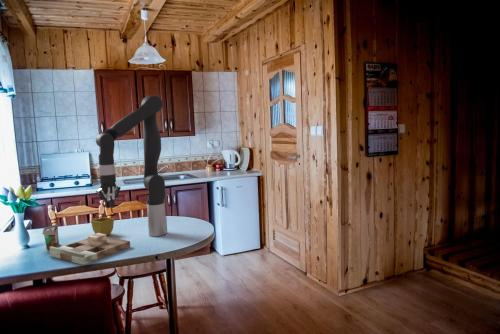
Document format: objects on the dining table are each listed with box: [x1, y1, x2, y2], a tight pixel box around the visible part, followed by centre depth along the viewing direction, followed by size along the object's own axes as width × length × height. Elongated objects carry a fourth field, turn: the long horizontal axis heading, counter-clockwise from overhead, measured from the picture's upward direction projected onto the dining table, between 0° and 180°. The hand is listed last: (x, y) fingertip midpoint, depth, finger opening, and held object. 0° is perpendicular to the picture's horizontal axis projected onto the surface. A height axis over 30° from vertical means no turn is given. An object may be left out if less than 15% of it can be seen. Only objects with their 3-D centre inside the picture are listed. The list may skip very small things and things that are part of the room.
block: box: [87, 233, 107, 246], centre depth 180 cm, size 6×6×4 cm
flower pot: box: [90, 216, 115, 237], centre depth 204 cm, size 9×9×9 cm
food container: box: [41, 224, 60, 251], centre depth 185 cm, size 12×6×10 cm, turn 21°
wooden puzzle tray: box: [49, 236, 131, 266], centre depth 177 cm, size 26×25×4 cm
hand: (110, 207), depth 186 cm, fingers closed
